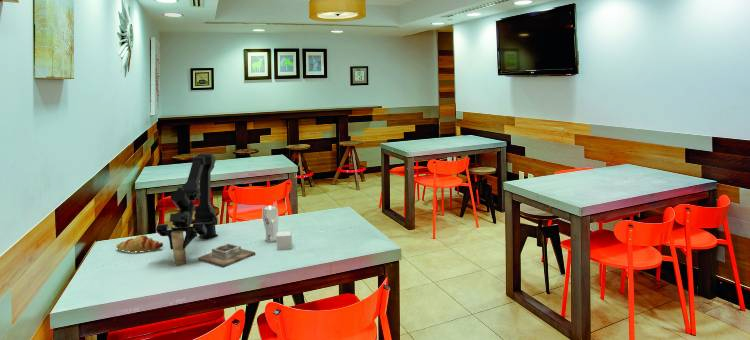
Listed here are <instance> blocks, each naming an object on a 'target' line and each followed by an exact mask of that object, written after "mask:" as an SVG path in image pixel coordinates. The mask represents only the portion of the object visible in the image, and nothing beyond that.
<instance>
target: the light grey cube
mask: <svg viewBox="0 0 750 340" xmlns="http://www.w3.org/2000/svg"><path fill="white" fill-rule="evenodd" d="M292 237H293V236H292V230H289V231H286V230H285V231H278V232H277V236H276V239H277V241H276V250H279V251H281V250H289V249H290V250H292V248H293V240H292Z"/></svg>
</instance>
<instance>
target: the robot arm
mask: <svg viewBox="0 0 750 340" xmlns="http://www.w3.org/2000/svg"><path fill="white" fill-rule="evenodd" d="M215 163H216V156H215V155H214V154H213V153H198V154H197V155H195V156H193V157H192V159H191V166H190V169H189V173H188V177H187V181H185V183H184V184H183V185H182V186H181V187H177V189H176V190H174V191H173V192H172V194H171V193H170V200H171V201H172V202H173V204H174V205H175V206H176V207H177V208H178V212H175V213H170V214H169V222H170V223H172V226H170V225H168V223H162V224H160V223H159V224H157V225H156V227H155V231H156V232H157V234H158V235H160V236H161V237H168V242H169V247H170V250H173V245H172V236H171V232H173V231H179V230H181V231H183V233H184V232H185V236H184V243H183V249H185V250H186V248H187V247H188V245H189V244H190V243H191V242H192V241H193V240H194V239H195V238H196V237H198V238H200V239H204V240H209V239H212V238H215V237H218V236H219V234H217V231H216V225H218V223H219V221H218V216H217V215H216V213H215V209H214V207H213V205H212V204H211V180H212V179H211V173H212V172H213V170H214V168H215ZM196 201H199V203H198V205H197V206H196V205H195V203H194V202H196ZM194 210H195V211H194ZM193 215H194V216H193ZM193 218H194V219H193ZM193 220H195V221H193ZM193 222H194V223H193ZM191 224H192V226H191ZM198 235H199V236H198Z"/></svg>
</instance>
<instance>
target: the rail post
mask: <svg viewBox="0 0 750 340" xmlns="http://www.w3.org/2000/svg"><path fill="white" fill-rule="evenodd" d="M171 236H172V245H173V249H172V252H173V260H174V265H175V264H176V265H175V266H183V265H182V264H184V265H186V264H187V263H186V262H187V256H186V255H187V253H186V248H185V249H183V243H184V239H185V236H184V232H183V231H181V230H179V231H173V232H171ZM185 263H186V264H185Z"/></svg>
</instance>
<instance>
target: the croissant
mask: <svg viewBox="0 0 750 340" xmlns="http://www.w3.org/2000/svg"><path fill="white" fill-rule="evenodd" d="M163 247H164V242H160V241H158V240H154V239H153V238H152V237H151V238H149V237H148V236H147V235H144V234H143V235H142V234H141V235H139V236H136V237H134V238H128V239H127V240H125V241H121V242H119V243H118V244H116V249H117V248H118V249H117V250H119V249H120V250H119V251H121V250H124V251H130V252H135V251H137V252H140V251H146V252H149V251H148V250H154V251H157V250H160V249H161V248H163ZM156 249H157V250H156ZM124 251H123V252H124Z"/></svg>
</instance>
